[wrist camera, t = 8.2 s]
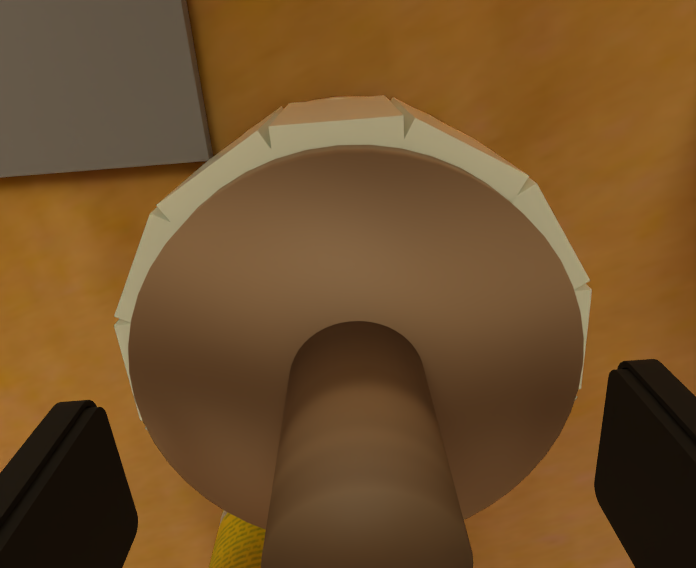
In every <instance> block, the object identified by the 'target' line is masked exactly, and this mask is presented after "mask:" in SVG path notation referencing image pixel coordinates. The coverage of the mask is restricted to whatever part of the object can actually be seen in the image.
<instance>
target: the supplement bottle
mask: <svg viewBox="0 0 696 568" xmlns="http://www.w3.org/2000/svg"><path fill="white" fill-rule="evenodd" d="M265 532H266V530H265V529H263V528H260V527H258V526H255V525H252V524H250V523H248V522H246V521H244V520H242V519H240V518H238V517H236V516H234V515H232V514H230V513H228V512H226V511H225V510H223V512H222V516H221V520H220V525H219V528H218V532H217V536H216V540H215V544H214V548H213V552H212V556H211V561H210V565H209V568H261V558H262V552H263V545H264V539H265Z"/></svg>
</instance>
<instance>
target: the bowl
mask: <svg viewBox="0 0 696 568" xmlns="http://www.w3.org/2000/svg"><path fill="white" fill-rule="evenodd" d="M335 145H377V146H386V147H394V148H402V149H406V150H410V151H414V152H418V153H422V154H426V155H429V156H433V157H435V158H438V159H440V160H443V161H445V162H448V163H450V164H452V165H455V166H457V167H460V168H462V169H463V170H465V171H467V172H469V173H470V174H472V175H474V176H475V177H477V178H479V179H481V180H482V181H484V182H486V183H487V184H488V185H490V186H491V187H492V188H493V189H495V190H496V191H497V192H499V193H500V194H501V195H502V196H504V197H505V198H506V199H507V200H509V201H510V202H511V203H512V204H513V205H514V206H515V207H516V208H518V209H519V210H520V211H521V212H522V213H523V214H524V215H525V216H526V217H527V218H528V219H529V220H530V221H531V222H532V223H533V225H534V226H535V227H536V228H537V229H538V230H539V231H540V232H541V233H542V234H543V235H544V236H545V238H546V239H547V241H548V242H549V244H550V245H551V247H552V248H553V250H554V251H555V252H556V254H557V255H558V257H559V258H560V260H561V262H562V264H563V266H564V268H565V270H566V272H567V274H568V276H569V279H570V281H571V283H572V285H573V288H574V291H575V295H576V298H577V302H578V305H579V308H580V312H581V320H582V328H583V336H584V348H583V366H584V357H585V348H586V339H587V330H588V321H589V312H590V303H591V294H592V289H591V288H590V287H589V286H588V285H587V284H586V283H587V282H589V281H590V279H589V277H588V276H587V274H586V272H585V270H584V268H583V266H582V265H581V263H580V261H579V259H578V257H577V255H576V254H575V252H574V250H573V248H572V246H571V245H570V243H569V241H568V239H567V237H566V235H565V234H564V232H563V230H562V228H561V226H560V225H559V223H558V221H557V219H556V217H555V215H554V214H553V212H552V210H551V208H550V206H549V204H548V203H547V201H546V199H545V197H544V195H543V194H542V192H541V190H540V188H539V186H538V184H537V183H536V182H534V181H533V180H531V179H530V178H529V175H527V174H526V173H524V172H523V171H521V170H520V169H518V168H517V167H515V166H514V165H512V164H511V163H510V162H508V161H507V160H505V159H504V158H502V157H501V156H499V155H498V154H496V153H495V152H493V151H492V150H490V149H489V148H487V147H486V146H484V145H483V144H481V143H480V142H478V141H477V140H475V139H474V138H472V137H470V136H468V135H466V134H464V133H462V132H460V131H458V130H456V129H454V128H452V127H450V126H448V125H447V124H445V123H443V122H441V121H439V120H438V119H436V118H434V117H433V116H431V115H429V114H427V113H425V112H422V111H420V110H418V109H415V108H413V107H411V106H410V105H408V104H406V103H404V102H402V101H400V100H398V99H396V98H394V97H392V99H391V100H388V98H387V97H386V96H385V95H381V96H369V97H366V96H335V97H328V98H322V99H315V100H311V101H307V102H295V103H289V104H288V105H287V106H286V107H285V108H284V109H283V107H282V106H281V107H279V108H278V109H277V110H275V111H274V112H273V113H271V114H270V115H269V116H267V117H266V118H265V119H263V120H262V121H261V122H259V123H258V124H256V125H255V126H253V127H252V128H250V129H249V130H248V131H246V132H245V133H244V134H243V135H242V136H240V137H239V138H238V139H236V140H235V141H234V142H232V143H231V144H229V145H228V146H227V147H225V148H224V149H223V150H221V151H220V152H219V153H217V154H216V155H215V156H213V157H212V158H211V159H209V160H208V161H207V162H206V163H204V164H203V165H202V166H201V167H200V168H199V169H197V170H196V171H195V172H194V173H193V174H192V175H191V176H189V177H188V178H187V179H186V180H185V181H184V182H182V183H181V184H180V185H179V186H178V187H177V188H175V189H174V190H173V191H172V192H171V193H170V194H168V195H167V196H166V197H165V198H164V199H163V200H161V201H160V202H159V203H158V204H157V205H156V206H157V208H156V209H154V210H153V211H152V212H151V213H150V215H149V218H148V220H147V223H146V226H145V229H144V232H143V235H142V238H141V241H140V243H139V246H138V249H137V252H136V255H135V258H134V261H133V264H132V266H131V269H130V272H129V275H128V278H127V281H126V284H125V286H124V289H123V292H122V295H121V298H120V301H119V304H118V307H117V309H116V312H115V315H114V317H117V318H119V320H118V321H117V322H116V324H115V325H114V328H115V331H116V335H117V339H118V342H119V346H120V349H121V353H122V357H123V360H124V364H125V367H126V371H127V375H128V378H129V382H130V385H131V389H132V384H131V379H130V374H129V356H128V343H129V334H130V324H131V318H132V315H133V311H134V307H135V304H136V300H137V296H138V293H139V291H140V289H141V287H142V284H143V282H144V280H145V278H146V275H147V273H148V271H149V269H150V267H151V265H152V264H153V262H154V261H155V259H156V258H157V256H158V255H159V253H160V252H161V250H162V248H163V247H164V245H165V244H166V243H167V242H168V240H169V239H170V238H171V237H172V236H173V235H174V234H175V232H176V231H177V230H178V229H179V228H180V227H181V226H182V225H183V223H184V222H185V221H186V220H187V219H188V218H189V217H190V216H191V214H192V213H193V212H194V211H195V210H196V209H197V208H198V207H199V206H200V205H201V204H202V203H203V202H205V201H206V200H207V199H208V198H209V197H210V196H212V195H213V194H214V193H215V192H216V191H218V190H219V189H220V188H221V187H223V186H225V185H226V184H228V183H229V182H231V181H232V180H234V179H236V178H237V177H239V176H240V175H242V174H244V173H245V172H247V171H249V170H251V169H254V168H256V167H258V166H260V165H263V164H265V163H267V162H269V161H272V160H274V159H277V158H280V157H283V156H287V155H290V154H294V153H297V152H301V151H304V150H309V149H316V148H322V147H329V146H335ZM582 375H583V367H582V372H581V378H580V383H579V389H581V384H582ZM132 392H133V389H132ZM133 396H134V394H133ZM576 398H577V395H576ZM576 398H575V400H576ZM134 400H135V398H134ZM135 403H136V401H135ZM136 407H137V410H138V414H139V418H140V421H143V420H142V417H141V415H140V412H139V409H138V406H137V404H136ZM145 429H146V430H147V428H146V427H145ZM147 431H148V430H147Z"/></svg>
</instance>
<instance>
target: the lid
mask: <svg viewBox="0 0 696 568" xmlns="http://www.w3.org/2000/svg"><path fill="white" fill-rule="evenodd" d="M583 348H584V336H583V328H582V320H581V312H580V308H579V305H578V302H577V298H576V295H575V291H574V288H573V285H572V283H571V281H570V279H569V276H568V274H567V272H566V270H565V268H564V266H563V264H562V262H561V260H560V258H559V257H558V255H557V254H556V252H555V251H554V250H553V248H552V247H551V245H550V244H549V242H548V241H547V239H546V238H545V236H544V235H543V234H542V233H541V232H540V231H539V230H538V229H537V228H536V227H535V226H534V225H533V223H532V222H531V221H530V220H529V219H528V218H527V217H526V216H525V215H524V214H523V213H522V212H521V211H520V210H519V209H518V208H516V207H515V206H514V205H513V204H512V203H511V202H510V201H509V200H507V199H506V198H505V197H504V196H502V195H501V194H500V193H499V192H497V191H496V190H495V189H493V188H492V187H491V186H490V185H488V184H487V183H486V182H484V181H482V180H481V179H479V178H477V177H475V176H474V175H472V174H470V173H469V172H467V171H465V170H463V169H462V168H460V167H457V166H455V165H452V164H450V163H448V162H445V161H443V160H440V159H438V158H435V157H433V156H429V155H426V154H422V153H418V152H414V151H410V150H406V149H402V148H394V147H386V146H377V145H335V146H329V147H322V148H316V149H309V150H304V151H301V152H297V153H294V154H290V155H287V156H283V157H280V158H277V159H274V160H272V161H269V162H267V163H265V164H263V165H260V166H258V167H256V168H254V169H251V170H249V171H247V172H245V173H244V174H242V175H240V176H239V177H237V178H236V179H234V180H232V181H231V182H229V183H228V184H226V185H225V186H223V187H221V188H220V189H219V190H218V191H216V192H215V193H214V194H213V195H212V196H210V197H209V198H208V199H207V200H206V201H205V202H203V203H202V204H201V205H200V206H199V207H198V208H197V209H196V210H195V211H194V212H193V213H192V214H191V216H190V217H189V218H188V219H187V220H186V221H185V222H184V223H183V225H182V226H181V227H180V228H179V229H178V230H177V231H176V232H175V234H174V235H173V236H172V237H171V238H170V239H169V240H168V242H167V243H166V244H165V245H164V247H163V248H162V250H161V252H160V253H159V255H158V256H157V258H156V259H155V261H154V262H153V264H152V265H151V267H150V269H149V271H148V273H147V275H146V278H145V280H144V282H143V284H142V287H141V289H140V291H139V293H138V296H137V300H136V304H135V307H134V311H133V315H132V318H131V324H130V334H129V343H128V356H129V374H130V379H131V384H132V389H133V394H134V398H135V401H136V404H137V406H138V409H139V412H140V415H141V417H142V420H143V423H144V424H145V426H146V428H147V430H148V432H149V434H150V436H151V438H152V439H153V441H154V443H155V445H156V446H157V447H158V449H159V450H160V452H161V453H162V454H163V456H164V457H165V459H166V460H167V461H168V463H169V464H170V465H171V466H172V467H173V468H174V469H175V470H176V471H177V473H178V474H179V475H180V476H181V477H182V478H183V479H184V480H185V481H186V482H187V483H188V484H189V485H191V486H192V487H193V488H194V489H195V490H197V491H198V492H199V493H200V494H201V495H203V496H204V497H205V498H206V499H208V500H209V501H211V502H212V503H214V504H215V505H217V506H218V507H220V508H221V509H223V510H225V511H226V512H228V513H230V514H232V515H234V516H236V517H238V518H240V519H242V520H244V521H246V522H248V523H250V524H252V525H255V526H258V527H260V528H263V529H265V530H266V532H265V539H264V545H263V552H262V558H261V568H473V555H472V550H471V547H470V543H469V539H468V535H467V531H466V528H465V524H464V519H467V518H469V517H471V516H472V515H474V514H476V513H478V512H479V511H481V510H483V509H485V508H487V507H488V506H490V505H491V504H493V503H494V502H496V501H497V500H498V499H500V498H501V497H503V496H504V495H505V494H507V493H508V492H510V491H511V490H512V489H513V488H514V487H515V486H516V485H518V484H519V483H520V482H521V481H522V480H523V479H524V478H525V477H526V476H528V475H529V474H530V472H531V471H532V470H533V469H534V468H535V467H536V466H537V464H538V463H539V462H540V461H541V460H542V459H543V458H544V456H545V455H546V454H547V452H548V451H549V449H550V448H551V446H552V445H553V443H554V442H555V440H556V439H557V438H558V436H559V434H560V432H561V430H562V428H563V426H564V424H565V422H566V420H567V418H568V416H569V414H570V412H571V409H572V406H573V404H574V401H575V398H576V395H577V392H578V389H579V383H580V378H581V372H582V367H583Z"/></svg>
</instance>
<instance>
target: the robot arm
mask: <svg viewBox="0 0 696 568" xmlns="http://www.w3.org/2000/svg"><path fill="white" fill-rule="evenodd" d="M594 487H595V493H596V497H597V500H598V502H599V505H600V506H601V508H602V510H603V512H604V513H605V515H606V517H607V519H608V520H609V522H610V524H611V526H612V527H613V529H614V531H615V533H616V534H617V536H618V538H619V540H620V542H621V543H622V545H623V547H624V549H625V550H626V552H627V554H628V556H629V557H630V559H631V561H632V563H633V564H634V566H635V568H696V397H695V396H694V395H693V394H692V393H691V392H690V391H689V390H688V389H687V388H686V387H685V386H684V385H683V384H682V383H681V382H680V381H679V380H678V379H677V378H676V377H675V376H674V375H673V374H672V373H671V372H670V371H669V370H668V369H667V368H666V367H665V366H664V365H663V364H662V363H661V362H659V361H658V360H656V359H647V360H633V361H623V362H621V363H620V364H619V366H618V369H617V370H612V371H611V372H610V374H609V378H608V385H607V392H606V400H605V407H604V415H603V422H602V429H601V437H600V444H599V452H598V459H597V467H596V474H595V482H594ZM137 527H138V516H137V512H136V509H135V505H134V502H133V499H132V496H131V492H130V489H129V486H128V482H127V479H126V476H125V473H124V469H123V466H122V463H121V460H120V456H119V453H118V450H117V447H116V443H115V440H114V437H113V434H112V430H111V427H110V424H109V421H108V417H107V414H106V412H105V410H104V409H103V408H101V407H97V406H96V404H95V403H94V402H93V401H91V400H83V401H69V402H60V403H57V404H56V405H55V406H53V408H52V409H51V410H50V411H49V413H48V414H47V415H46V416H45V418H44V419H43V420H42V421H41V423H40V424H39V425H38V426H37V428H36V429H35V430H34V431H33V433H32V434H31V435H30V437H29V438H28V439H27V440H26V442H25V443H24V444H23V445H22V447H21V448H20V449H19V450H18V452H17V453H16V454H15V455H14V457H13V458H12V459H11V460H10V462H9V463H8V464H7V465H6V467H5V468H4V469H3V470H2V472H1V473H0V568H122V567H123V565H124V562H125V560H126V557H127V555H128V553H129V550H130V548H131V545H132V543H133V541H134V538H135V536H136V532H137Z"/></svg>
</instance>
